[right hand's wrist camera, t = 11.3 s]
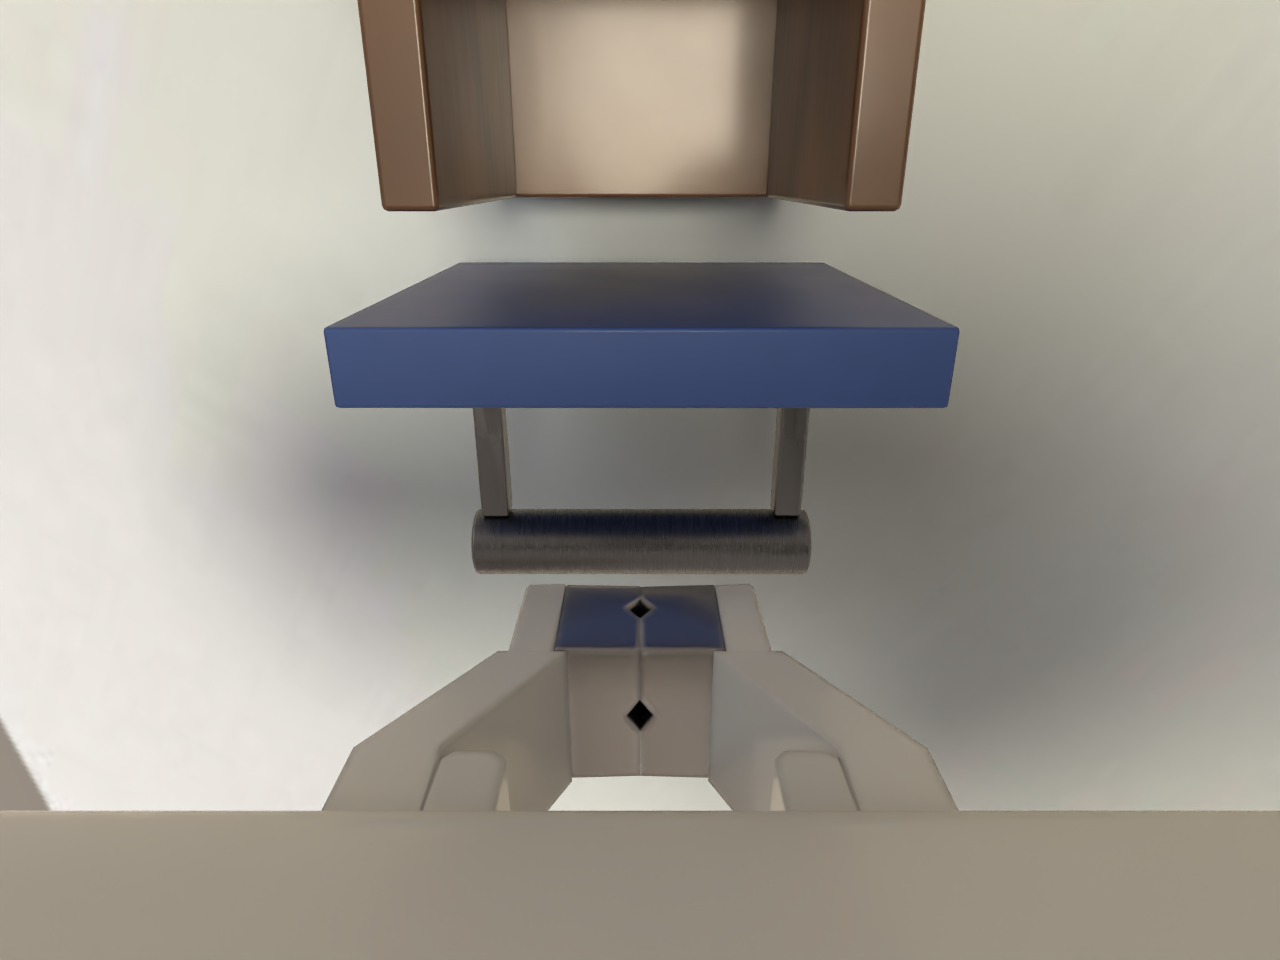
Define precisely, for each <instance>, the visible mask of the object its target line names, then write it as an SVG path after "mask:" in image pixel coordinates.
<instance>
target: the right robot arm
mask: <svg viewBox="0 0 1280 960" xmlns="http://www.w3.org/2000/svg"><path fill="white" fill-rule="evenodd" d="M608 776H671V777H708V781H709V782H710V783H711V784H712V786H713V787H714V788H715V789H716V791H717V792H718V793H719V794H720V796H721V797H722V798H723V799H724V800H725V802H726V803H727V804H728V805H729V807H730V808H731V809H732V810H733V811H548V810H549V808H550V807H551V806H552V805H553V804H554V802H555V801H556V800H557V799H558V797H559V796H560V795H561V794H562V793H563V791H564V790H565V789H566V788H567V786H568V785H569V784H570V783H571V782H572V777H608ZM0 960H1280V811H958V809H957V807H956V805H955V803H954V801H953V799H952V797H951V795H950V793H949V791H948V789H947V787H946V785H945V783H944V781H943V779H942V777H941V775H940V773H939V771H938V769H937V767H936V765H935V763H934V761H933V759H932V757H931V755H930V753H929V751H928V749H927V748H926V747H924V746H923V745H921V744H920V743H918V742H917V741H915V740H914V739H912V738H911V737H909V736H908V735H906V734H905V733H903V732H902V731H900V730H899V729H897V728H896V727H894V726H893V725H891V724H890V723H888V722H887V721H885V720H884V719H882V718H881V717H879V716H878V715H876V714H875V713H873V712H872V711H870V710H869V709H867V708H866V707H865V706H863V705H862V704H860V703H859V702H857V701H856V700H854V699H853V698H851V697H850V696H848V695H847V694H845V693H844V692H842V691H841V690H839V689H838V688H836V687H835V686H833V685H832V684H830V683H829V682H827V681H826V680H824V679H823V678H821V677H820V676H818V675H817V674H815V673H814V672H812V671H811V670H809V669H808V668H806V667H805V666H803V665H802V664H800V663H799V662H797V661H796V660H794V659H793V658H791V657H790V656H788V655H787V654H785V653H784V652H782V651H771V648H770V644H769V641H768V637H767V634H766V630H765V627H764V623H763V620H762V616H761V613H760V609H759V605H758V602H757V598H756V595H755V591H754V588H753V586H751V585H750V584H740V585H718V586H714V585H695V586H654V587H640V586H591V585H567V587H566V586H565V584H555V585H530V586H528V587H527V588H526V591H525V594H524V598H523V601H522V605H521V608H520V612H519V616H518V619H517V623H516V626H515V630H514V633H513V637H512V641H511V644H510V648H509V651H498V652H496V653H495V654H493V655H492V656H490V657H489V658H487V659H486V660H484V661H483V662H481V663H480V664H478V665H477V666H475V667H474V668H472V669H471V670H469V671H468V672H466V673H465V674H463V675H462V676H460V677H459V678H457V679H456V680H454V681H453V682H451V683H450V684H448V685H447V686H445V687H444V688H442V689H441V690H439V691H438V692H436V693H435V694H433V695H432V696H430V697H429V698H427V699H426V700H424V701H423V702H421V703H420V704H418V705H417V706H415V707H414V708H412V709H411V710H409V711H408V712H406V713H405V714H403V715H402V716H400V717H399V718H397V719H396V720H394V721H393V722H391V723H390V724H388V725H387V726H385V727H384V728H382V729H381V730H379V731H378V732H376V733H375V734H373V735H372V736H370V737H369V738H367V739H366V740H364V741H363V742H361V743H360V744H358V745H357V746H355V747H354V748H353V750H352V752H351V754H350V756H349V757H348V759H347V761H346V763H345V765H344V767H343V769H342V771H341V773H340V775H339V777H338V779H337V781H336V783H335V785H334V787H333V789H332V791H331V793H330V795H329V797H328V799H327V801H326V803H325V805H324V807H323V809H322V811H0Z"/></svg>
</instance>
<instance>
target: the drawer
mask: <svg viewBox="0 0 1280 960" xmlns="http://www.w3.org/2000/svg"><path fill="white" fill-rule="evenodd" d="M925 2H926V0H358V9H359V17H360V25H361V34H362V42H363V51H364V59H365V67H366V76H367V84H368V92H369V101H370V109H371V117H372V126H373V134H374V143H375V151H376V159H377V168H378V176H379V184H380V193H381V201H382V206H383V208H384V210H387V211H439V210H444V209H450V208H456V207H462V206H467V205H473V204H479V203H485V202H490V201H496V200H502V199H508V198H513V197H770V198H776V199H782V200H787V201H793V202H799V203H805V204H811V205H816V206H822V207H828V208H834V209H839V210H845V211H896V210H898V209H899V208H900V206H901V201H902V193H903V185H904V176H905V168H906V160H907V152H908V143H909V135H910V127H911V118H912V110H913V102H914V94H915V85H916V77H917V69H918V60H919V52H920V44H921V36H922V27H923V19H924V11H925ZM324 336H325V342H326V349H327V355H328V362H329V368H330V374H331V381H332V387H333V394H334V400H335V405H336V407H339V408H473V415H474V427H475V438H476V450H477V462H478V474H479V485H480V497H481V509H480V510H478V511H477V513H476V515H475V518H474V522H473V528H472V559H473V564H474V568H475V570H476V572H477V573H479V574H804V573H806V572H807V570H808V567H809V563H810V557H811V531H810V524H809V519H808V516H807V513H806V512H805V511H804V510H802V509H801V503H802V491H803V480H804V468H805V457H806V445H807V434H808V422H809V410H810V408H945V407H947V406H948V401H949V395H950V388H951V382H952V376H953V369H954V363H955V357H956V350H957V344H958V337H959V328H957V327H955V326H953V325H951V324H949V323H947V322H945V321H943V320H941V319H939V318H936V317H934V316H932V315H930V314H928V313H926V312H924V311H922V310H920V309H918V308H916V307H914V306H912V305H910V304H907V303H905V302H903V301H901V300H899V299H897V298H895V297H893V296H891V295H889V294H887V293H885V292H883V291H881V290H878V289H876V288H874V287H872V286H870V285H868V284H866V283H864V282H862V281H860V280H858V279H856V278H854V277H851V276H849V275H847V274H845V273H843V272H841V271H839V270H837V269H835V268H833V267H831V266H829V265H827V264H825V263H458V264H456V265H454V266H452V267H450V268H448V269H446V270H444V271H442V272H440V273H438V274H436V275H434V276H431V277H429V278H427V279H425V280H423V281H421V282H419V283H417V284H415V285H413V286H411V287H409V288H407V289H404V290H402V291H400V292H398V293H396V294H394V295H392V296H390V297H388V298H386V299H384V300H382V301H380V302H378V303H375V304H373V305H371V306H369V307H367V308H365V309H363V310H361V311H359V312H357V313H355V314H353V315H351V316H348V317H346V318H344V319H342V320H340V321H338V322H336V323H334V324H332V325H330V326H328V327H326V328H324ZM506 408H777V419H776V433H775V448H774V462H773V476H772V490H771V508H772V509H511V508H512V493H511V478H510V464H509V449H508V435H507V420H506Z"/></svg>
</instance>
